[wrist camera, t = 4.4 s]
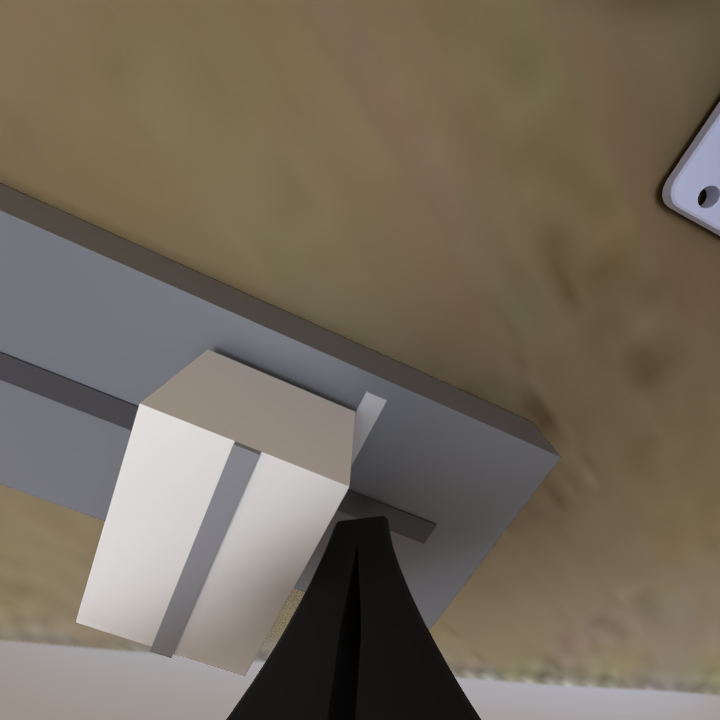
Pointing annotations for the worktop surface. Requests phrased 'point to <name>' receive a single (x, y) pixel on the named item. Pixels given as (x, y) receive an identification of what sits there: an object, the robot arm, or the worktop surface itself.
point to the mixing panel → (254, 349)
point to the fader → (217, 511)
